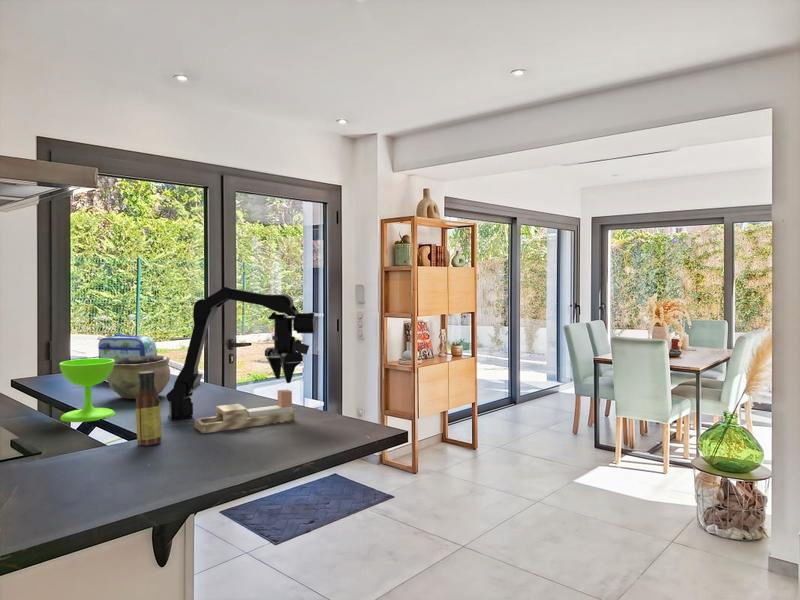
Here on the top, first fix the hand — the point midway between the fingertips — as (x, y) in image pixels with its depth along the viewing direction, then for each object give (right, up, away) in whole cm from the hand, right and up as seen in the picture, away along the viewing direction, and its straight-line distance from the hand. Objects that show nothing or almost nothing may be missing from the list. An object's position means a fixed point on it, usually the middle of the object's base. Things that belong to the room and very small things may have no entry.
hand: (283, 380), depth 187 cm
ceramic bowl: (-61, -11, +30) cm, 69 cm away
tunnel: (-10, -13, -7) cm, 17 cm away
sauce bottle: (-31, -13, -29) cm, 45 cm away
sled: (-4, -11, -3) cm, 12 cm away
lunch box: (-81, -10, +63) cm, 103 cm away
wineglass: (-64, -12, +2) cm, 66 cm away
